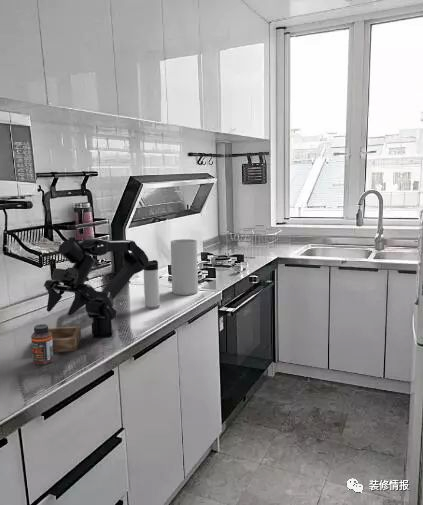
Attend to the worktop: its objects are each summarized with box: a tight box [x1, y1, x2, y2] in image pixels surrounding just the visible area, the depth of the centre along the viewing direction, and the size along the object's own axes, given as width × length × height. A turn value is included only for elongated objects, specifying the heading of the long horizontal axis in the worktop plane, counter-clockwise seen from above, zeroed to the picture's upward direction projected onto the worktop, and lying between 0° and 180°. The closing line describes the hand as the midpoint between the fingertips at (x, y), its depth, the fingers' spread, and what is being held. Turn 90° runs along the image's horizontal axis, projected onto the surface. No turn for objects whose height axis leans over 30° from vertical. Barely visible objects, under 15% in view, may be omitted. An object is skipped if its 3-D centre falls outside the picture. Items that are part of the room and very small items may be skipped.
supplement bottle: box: [30, 323, 54, 366], centre depth 140 cm, size 6×6×11 cm
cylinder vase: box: [170, 238, 199, 296], centre depth 221 cm, size 12×12×25 cm
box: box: [48, 325, 82, 353], centre depth 154 cm, size 13×13×4 cm
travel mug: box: [142, 259, 161, 310], centre depth 197 cm, size 6×7×20 cm
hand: (58, 312), depth 145 cm, fingers open, 9 cm apart
